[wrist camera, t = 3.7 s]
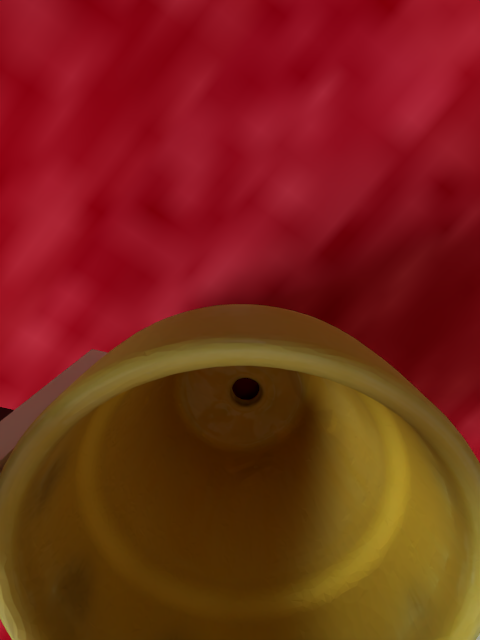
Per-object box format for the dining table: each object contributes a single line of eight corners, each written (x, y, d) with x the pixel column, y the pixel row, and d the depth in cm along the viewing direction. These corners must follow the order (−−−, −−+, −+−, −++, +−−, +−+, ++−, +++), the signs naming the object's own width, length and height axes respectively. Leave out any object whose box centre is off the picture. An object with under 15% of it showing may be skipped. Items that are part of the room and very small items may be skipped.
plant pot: (390, 308, 15) (628, 439, 6) (311, 496, 18) (387, 800, 8) (161, 240, 15) (7, 262, 5) (114, 444, 17) (-47, 709, 8)
